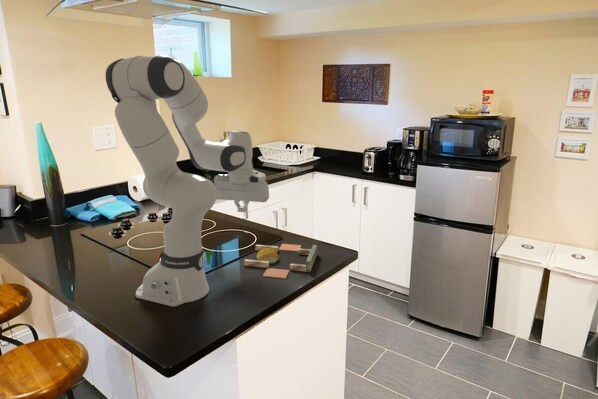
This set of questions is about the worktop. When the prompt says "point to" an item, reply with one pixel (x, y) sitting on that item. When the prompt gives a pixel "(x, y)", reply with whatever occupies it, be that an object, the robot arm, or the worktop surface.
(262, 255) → the bread roll
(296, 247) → the trap pads
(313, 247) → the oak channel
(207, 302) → the worktop surface
